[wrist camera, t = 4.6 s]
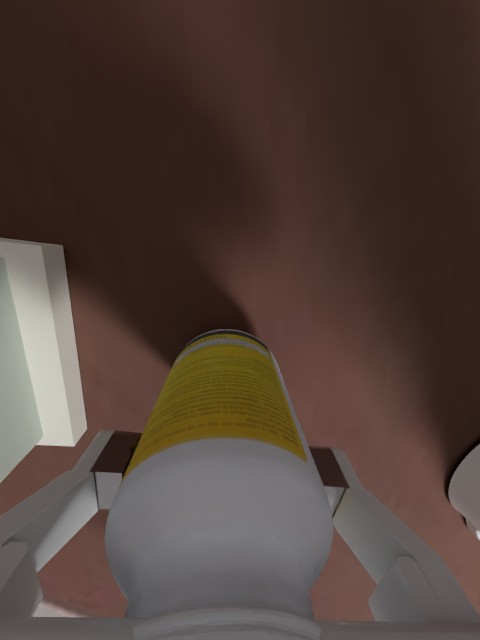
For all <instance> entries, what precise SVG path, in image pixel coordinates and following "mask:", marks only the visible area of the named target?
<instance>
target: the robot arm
mask: <svg viewBox="0 0 480 640" xmlns="http://www.w3.org/2000/svg"><path fill="white" fill-rule="evenodd" d="M142 434H143V433H135V432H126V431H117V430H116V431H115V430H105V429H102V430H101V431H100V432H99V433H98V434H97V435H96V437H95V438H94V440H93V441H92V443H91V444H90V446H89V447H88V448H87V450H86V451H85V453H84V454H83V456H82V457H81V459H80V460H79V461H78V463H77V464H76V466H75V467H74V469H73V470H72V471H66V472H65V473H63V474H62V475H61V476H59V477H58V478H56V479H55V480H53V481H52V482H50V483H49V484H47V485H46V486H44V487H43V488H41V489H40V490H38V491H37V492H35V493H34V494H32V495H31V496H29V497H28V498H26V499H25V500H23V501H22V502H21V503H19V504H18V505H16V506H15V507H13V508H12V509H10V510H9V511H7V512H6V513H4V514H3V515H1V516H0V640H134V633H133V627H134V626H135V625H137V624H139V623H142V622H145V621H148V620H146V619H144V618H71V617H33V615H34V612H35V611H36V609H37V607H38V605H39V603H40V601H41V599H42V597H43V589H42V586H41V583H40V580H39V577H38V574H37V572H38V571H39V570H40V569H41V568H42V567H43V566H44V565H45V564H46V563H47V562H48V561H49V560H50V559H51V558H52V557H53V556H54V555H55V554H56V553H57V552H58V551H59V550H60V549H61V548H62V547H63V546H64V545H65V544H66V543H67V542H68V541H69V540H70V539H71V538H72V537H73V536H74V535H75V534H76V533H77V532H78V531H79V530H80V529H81V528H82V527H83V526H84V525H85V524H86V523H87V522H88V521H89V520H90V518H91V517H92V516H93V515H94V514H95V513H96V512H97V511H98V509H110V508H111V505H112V502H113V500H114V498H115V495H116V493H117V490H118V488H119V486H120V483H121V481H122V479H123V477H124V475H125V472H126V470H127V468H128V466H129V464H130V461H131V459H132V457H133V454H134V452H135V450H136V448H137V445H138V443H139V441H140V438H141V436H142ZM308 447H309V449H310V452H311V455H312V457H313V460H314V462H315V465H316V467H317V470H318V473H319V475H320V478H321V480H322V483H323V485H324V488H325V491H326V494H327V497H328V500H329V504H330V507H331V511H332V519H333V525H334V527H335V528H336V530H337V531H338V532H339V534H340V535H341V536H342V538H343V539H344V540H345V542H346V543H347V544H348V546H349V547H350V549H351V550H352V551H353V553H354V554H355V555H356V557H357V558H358V559H359V561H360V562H361V564H362V565H363V566H364V568H365V569H366V570H367V572H368V573H369V574H370V576H371V577H372V578H373V580H374V581H375V583H376V584H377V586H376V588H375V589H374V591H373V592H372V594H371V595H370V597H369V600H368V603H369V606H370V609H371V611H372V614H373V617H374V619H375V621H313V622H315V623H316V624H318V625H319V626H321V632H320V636H319V639H320V640H480V616H479V614H478V612H477V611H476V609H475V608H474V606H473V605H472V603H471V602H470V600H469V599H468V597H467V596H466V594H465V593H464V591H463V590H462V588H461V586H460V585H459V583H458V582H457V580H456V579H455V577H454V576H453V574H452V573H451V571H450V570H449V568H448V567H447V565H446V564H445V562H444V561H443V559H442V557H441V556H440V555H439V554H437V553H436V552H435V551H434V550H433V549H432V548H431V547H430V546H429V545H428V544H427V543H425V542H424V541H423V540H422V539H421V538H420V537H419V536H418V535H417V534H416V533H414V532H413V531H412V530H411V529H410V528H409V527H408V526H407V525H406V524H405V523H403V522H402V521H401V520H400V519H399V518H398V517H397V516H396V515H395V514H394V513H393V512H391V511H390V510H389V509H388V508H387V507H386V506H385V505H384V504H383V503H382V502H380V501H379V500H378V499H377V498H376V497H375V496H374V495H373V494H372V493H371V492H370V491H368V490H364V489H363V487H362V485H361V483H360V481H359V479H358V477H357V475H356V473H355V472H354V470H353V468H352V466H351V464H350V462H349V460H348V458H347V457H346V455H345V453H344V451H343V450H342V449H341V448H331V447H320V446H308ZM448 493H449V500H450V502H451V504H452V506H453V507H454V508H455V509H456V510H457V511H458V512H459V513H460V514H462V515H463V516H464V517H465V518H466V523H467V527H468V529H469V530H470V531H471V532H472V533H473V534H474V535H475V536H476V537H477V538H478V539H479V540H480V444H479V445H478V446H477V447H475V448H474V449H473V450H472V451H471V452H470V453H469V454H468V455H467V456H466V457H465V459H464V460H463V461H462V462H461V463H460V465H459V466H458V468H457V469H456V471H455V473H454V474H453V476H452V479H451V481H450V485H449V491H448Z"/></svg>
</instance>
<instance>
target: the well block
mask: <svg viewBox="0 0 480 640" xmlns="http://www.w3.org/2000/svg"><path fill="white" fill-rule="evenodd" d="M86 430H87V423H86V416H85V408H84V401H83V393H82V386H81V378H80V371H79V363H78V356H77V348H76V341H75V333H74V326H73V318H72V311H71V303H70V296H69V288H68V281H67V273H66V266H65V258H64V251H63V245H56V244H48V243H40V242H32V241H24V240H16V239H8V238H0V483H1V482H2V481H3V480H4V479H5V477H6V476H7V475H8V474H9V473H10V472H11V471H12V470H13V469H14V468H15V467H16V466H17V464H18V463H19V462H20V461H21V460H22V459H23V458H24V457H25V456H26V455H27V454H28V453H29V451H30V450H31V449H32V448H33V447H34V446H35V445H53V446H75V445H76V443H77V442H78V440H79V439H80V438H81V436H82V435H83V434H84V432H85V431H86Z"/></svg>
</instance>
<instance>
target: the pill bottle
mask: <svg viewBox="0 0 480 640" xmlns="http://www.w3.org/2000/svg"><path fill="white" fill-rule="evenodd" d="M332 538H333V519H332V511H331V507H330V504H329V500H328V497H327V494H326V491H325V488H324V485H323V483H322V480H321V478H320V475H319V473H318V470H317V467H316V465H315V462H314V460H313V457H312V455H311V452H310V449H309V447H308V444H307V442H306V439H305V436H304V434H303V431H302V429H301V426H300V424H299V421H298V418H297V416H296V413H295V410H294V408H293V405H292V402H291V400H290V397H289V394H288V392H287V389H286V387H285V384H284V381H283V378H282V376H281V373H280V370H279V367H278V364H277V362H276V360H275V357H274V356H273V354H272V352H271V351H270V349H269V348H268V347H267V346H266V345H265V344H264V343H263V342H262V341H260V340H259V339H258V338H256V337H254V336H253V335H251V334H248V333H246V332H243V331H239V330H233V329H220V330H213V331H209V332H206V333H204V334H201V335H199V336H197V337H196V338H194V339H193V340H191V341H190V342H189V343H188V344H187V345H186V346H185V347H184V348H183V349H182V350H181V352H180V353H179V355H178V356H177V358H176V360H175V362H174V364H173V367H172V369H171V371H170V373H169V376H168V378H167V380H166V382H165V384H164V387H163V389H162V391H161V393H160V396H159V398H158V400H157V402H156V405H155V407H154V409H153V411H152V414H151V416H150V418H149V420H148V423H147V425H146V427H145V429H144V432H143V434H142V436H141V438H140V441H139V443H138V445H137V448H136V450H135V452H134V454H133V457H132V459H131V461H130V464H129V466H128V468H127V470H126V472H125V475H124V477H123V479H122V481H121V483H120V486H119V488H118V490H117V493H116V495H115V498H114V500H113V502H112V505H111V508H110V511H109V514H108V518H107V522H106V531H105V548H106V555H107V559H108V564H109V567H110V570H111V572H112V574H113V576H114V578H115V581H116V583H117V585H118V586H119V588H120V590H121V591H122V593H123V594H124V596H125V597H126V598H127V599H128V605H127V609H126V613H125V617H124V618H144V619H146V620H148V621H145V622H142V623H139V624H137V625H135V626H134V627H133V633H134V640H320V639H319V636H320V632H321V626H319V625H318V624H316V623H315V622H313V621H315V619H314V614H313V609H312V604H311V599H310V594H309V590H310V589H311V587H312V586H313V585H314V583H315V582H316V580H317V579H318V577H319V576H320V574H321V572H322V570H323V568H324V566H325V564H326V562H327V559H328V556H329V553H330V550H331V546H332Z"/></svg>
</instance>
